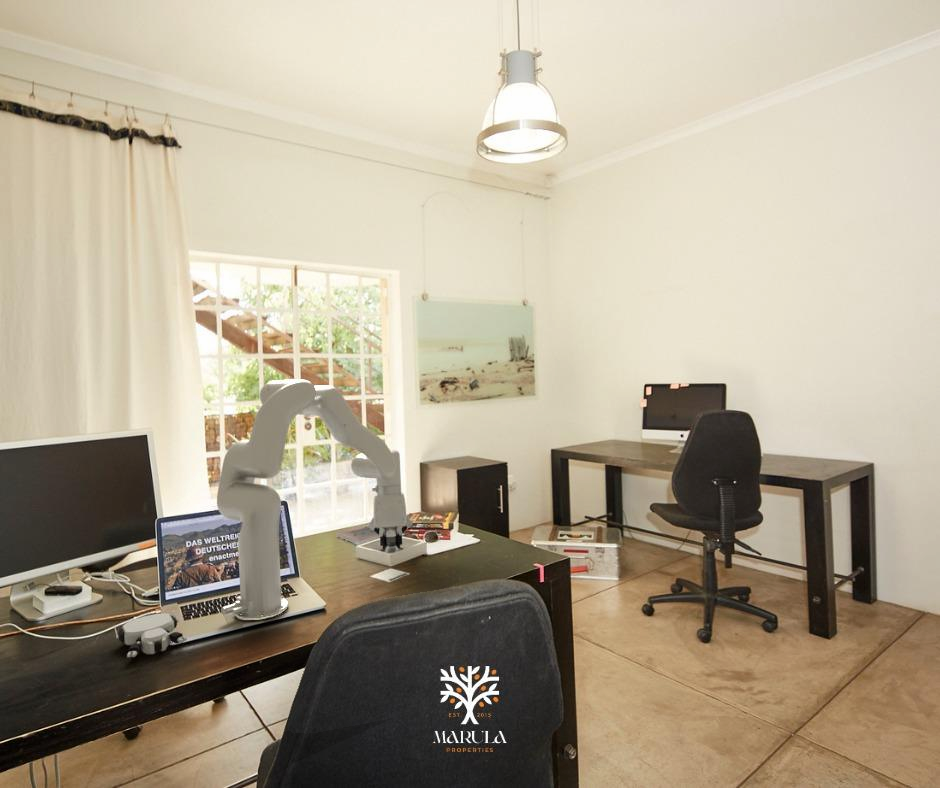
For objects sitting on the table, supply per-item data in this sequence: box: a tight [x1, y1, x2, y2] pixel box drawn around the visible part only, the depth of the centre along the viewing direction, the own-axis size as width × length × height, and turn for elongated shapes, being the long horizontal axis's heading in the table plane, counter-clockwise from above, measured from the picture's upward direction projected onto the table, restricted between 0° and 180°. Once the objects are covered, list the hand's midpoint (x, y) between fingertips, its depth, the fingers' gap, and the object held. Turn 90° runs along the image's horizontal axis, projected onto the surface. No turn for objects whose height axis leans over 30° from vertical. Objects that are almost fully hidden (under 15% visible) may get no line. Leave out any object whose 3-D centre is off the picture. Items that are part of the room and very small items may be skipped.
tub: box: [355, 536, 428, 567], centre depth 182 cm, size 16×16×4 cm
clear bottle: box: [384, 527, 399, 554], centre depth 182 cm, size 4×4×9 cm
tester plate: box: [369, 568, 411, 583], centre depth 164 cm, size 8×8×1 cm
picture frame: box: [336, 525, 398, 546], centre depth 209 cm, size 16×2×22 cm
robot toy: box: [113, 610, 188, 658], centre depth 127 cm, size 12×4×15 cm
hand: (391, 546), depth 182 cm, fingers closed on clear bottle, 4 cm apart
